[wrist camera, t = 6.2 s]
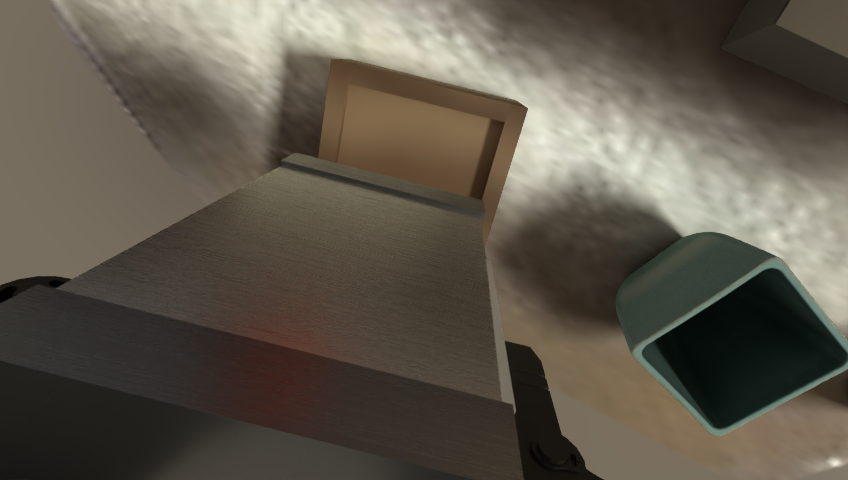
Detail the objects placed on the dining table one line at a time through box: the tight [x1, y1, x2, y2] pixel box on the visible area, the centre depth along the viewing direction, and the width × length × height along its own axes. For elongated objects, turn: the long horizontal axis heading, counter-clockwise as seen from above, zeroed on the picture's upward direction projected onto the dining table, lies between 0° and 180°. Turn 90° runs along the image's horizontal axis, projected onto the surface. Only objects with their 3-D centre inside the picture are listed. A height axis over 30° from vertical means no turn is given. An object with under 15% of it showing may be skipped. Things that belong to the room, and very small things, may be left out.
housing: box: [0, 153, 524, 480], centre depth 10 cm, size 6×6×10 cm
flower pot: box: [615, 232, 848, 436], centre depth 28 cm, size 9×9×9 cm
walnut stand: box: [318, 59, 528, 245], centre depth 28 cm, size 11×11×5 cm
